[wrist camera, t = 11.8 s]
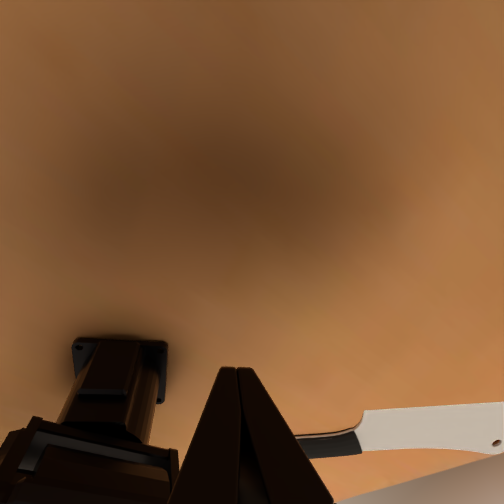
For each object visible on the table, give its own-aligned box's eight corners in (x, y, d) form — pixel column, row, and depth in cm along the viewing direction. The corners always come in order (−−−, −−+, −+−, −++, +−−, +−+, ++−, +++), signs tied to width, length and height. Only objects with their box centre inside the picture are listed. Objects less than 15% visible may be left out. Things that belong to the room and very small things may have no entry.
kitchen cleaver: (551, 390, 31) (513, 460, 34) (535, 377, 32) (500, 445, 36) (234, 402, 27) (229, 479, 30) (233, 387, 28) (229, 461, 32)
